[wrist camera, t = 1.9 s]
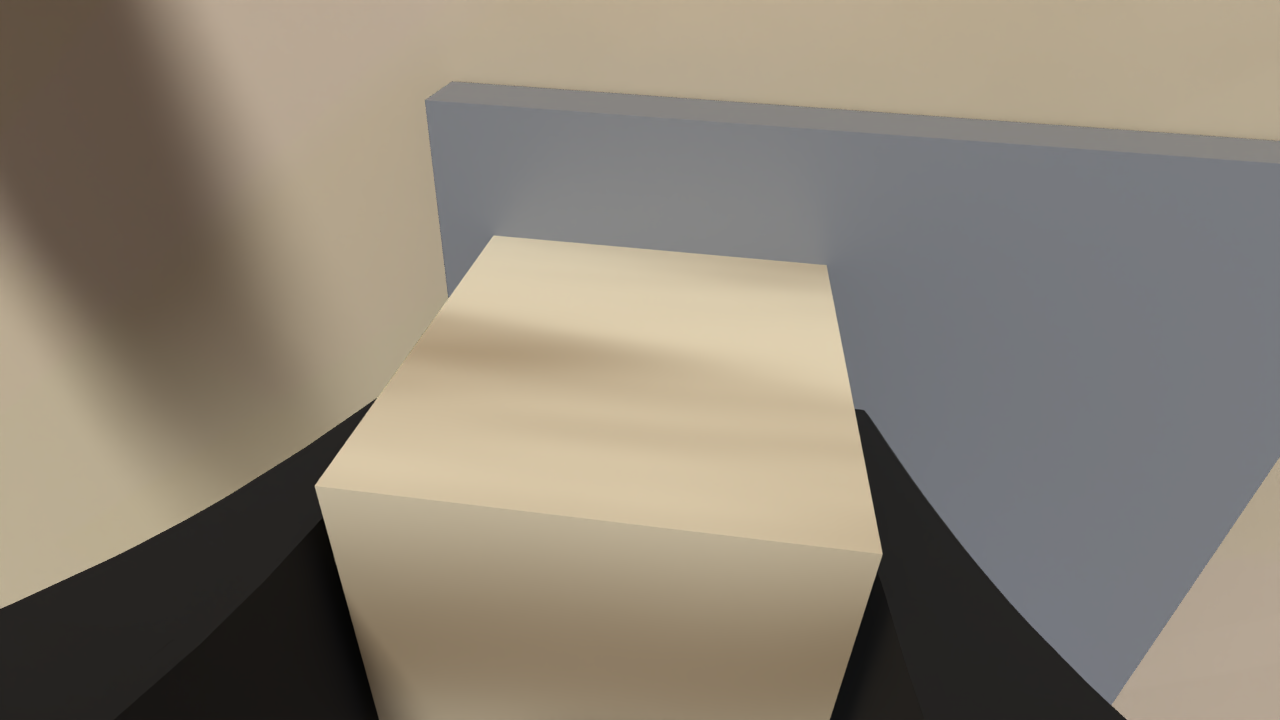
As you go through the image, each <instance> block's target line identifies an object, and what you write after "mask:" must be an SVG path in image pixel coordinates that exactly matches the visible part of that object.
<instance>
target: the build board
mask: <svg viewBox="0 0 1280 720" xmlns="http://www.w3.org/2000/svg"><path fill="white" fill-rule="evenodd" d="M425 105H426V114H427V122H428V130H429V139H430V147H431V156H432V164H433V173H434V181H435V190H436V198H437V206H438V215H439V223H440V232H441V240H442V249H443V257H444V265H445V274H446V282H447V291H448V298H449V297H450V296H451V294H452V293H453V291H454V290H455V289H456V287H457V286H458V284H459V283H460V282H461V280H462V279H463V277H464V276H465V275H466V273H467V272H468V270H469V269H470V268H471V266H472V265H473V263H474V262H475V261H476V259H477V258H478V256H479V255H480V254H481V252H482V251H483V249H484V248H485V247H486V245H487V244H488V242H489V241H490V240H491V238H492V237H493V235H494V236H505V237H516V238H528V239H539V240H550V241H561V242H572V243H584V244H595V245H606V246H617V247H628V248H640V249H651V250H662V251H673V252H685V253H696V254H707V255H718V256H729V257H741V258H752V259H763V260H774V261H786V262H797V263H808V264H819V265H827V270H828V275H829V281H830V286H831V291H832V296H833V301H834V306H835V311H836V317H837V322H838V327H839V332H840V337H841V342H842V348H843V353H844V358H845V363H846V368H847V373H848V378H849V384H850V389H851V394H852V399H853V404H854V409H860V410H865V412H866V413H867V414H868V415H869V417H870V418H871V419H872V421H873V422H874V424H875V425H876V427H877V428H878V430H879V431H880V433H881V434H882V436H883V437H884V439H885V440H886V442H887V443H888V445H889V446H890V447H891V449H892V450H893V452H894V453H895V455H896V456H897V458H898V459H899V461H900V462H901V464H902V465H903V466H904V468H905V469H906V471H907V472H908V474H909V475H910V476H911V478H912V479H913V481H914V482H915V484H916V485H917V486H918V488H919V489H920V490H921V492H922V493H923V495H924V496H925V497H926V499H927V500H928V501H929V503H930V504H931V505H932V507H933V508H934V509H935V511H936V512H937V513H938V515H939V516H940V517H941V518H942V520H943V521H944V522H945V524H946V525H947V526H948V528H949V529H950V530H951V532H952V533H953V534H954V536H955V537H956V538H957V539H958V541H959V542H960V543H961V545H962V546H963V547H964V548H965V550H966V551H967V552H968V553H969V554H970V556H971V557H972V558H973V559H974V561H975V562H976V563H977V564H978V566H979V567H980V568H981V569H982V570H983V572H984V573H985V574H986V575H987V576H988V577H989V579H990V580H991V581H992V582H993V583H994V584H995V586H996V587H997V588H998V589H999V590H1000V591H1001V593H1002V594H1003V595H1004V596H1005V597H1006V599H1007V600H1008V601H1009V602H1010V603H1011V604H1012V605H1013V606H1014V608H1015V609H1016V610H1017V611H1018V612H1019V613H1020V614H1021V615H1022V616H1023V617H1024V618H1025V619H1026V621H1027V622H1028V623H1029V624H1030V625H1031V626H1032V627H1033V628H1034V629H1035V630H1036V631H1037V632H1038V633H1039V634H1040V635H1041V636H1042V637H1043V638H1044V639H1045V640H1046V641H1047V642H1048V643H1049V644H1050V645H1051V646H1052V647H1053V648H1054V649H1055V650H1056V651H1057V652H1058V654H1059V655H1060V656H1061V657H1062V658H1063V659H1064V660H1065V661H1066V662H1067V663H1068V664H1069V665H1070V666H1071V667H1072V668H1073V669H1074V670H1075V671H1076V672H1077V673H1078V674H1079V675H1080V676H1081V677H1082V678H1083V679H1084V680H1085V681H1086V682H1087V683H1088V684H1089V685H1090V686H1091V687H1092V688H1093V689H1094V690H1096V691H1097V692H1098V693H1099V694H1100V695H1101V696H1102V697H1103V698H1104V699H1105V700H1106V701H1107V702H1108V703H1109V704H1110V705H1112V703H1113V702H1114V700H1115V699H1116V697H1117V696H1118V694H1119V693H1120V691H1121V690H1122V688H1123V687H1124V685H1125V684H1126V682H1127V681H1128V680H1129V678H1130V677H1131V675H1132V674H1133V672H1134V671H1135V669H1136V668H1137V666H1138V665H1139V663H1140V662H1141V660H1142V659H1143V657H1144V656H1145V654H1146V653H1147V652H1148V650H1149V649H1150V647H1151V646H1152V644H1153V643H1154V641H1155V640H1156V638H1157V637H1158V635H1159V634H1160V632H1161V631H1162V629H1163V628H1164V626H1165V625H1166V624H1167V622H1168V621H1169V619H1170V618H1171V616H1172V615H1173V613H1174V612H1175V610H1176V609H1177V607H1178V606H1179V604H1180V603H1181V601H1182V600H1183V598H1184V597H1185V596H1186V594H1187V593H1188V591H1189V590H1190V588H1191V587H1192V585H1193V584H1194V582H1195V581H1196V579H1197V578H1198V576H1199V575H1200V573H1201V572H1202V570H1203V569H1204V568H1205V566H1206V565H1207V563H1208V562H1209V560H1210V559H1211V557H1212V556H1213V554H1214V553H1215V551H1216V550H1217V548H1218V547H1219V545H1220V544H1221V542H1222V541H1223V540H1224V538H1225V537H1226V535H1227V534H1228V532H1229V531H1230V529H1231V528H1232V526H1233V525H1234V523H1235V522H1236V520H1237V519H1238V517H1239V516H1240V514H1241V513H1242V512H1243V510H1244V509H1245V507H1246V506H1247V504H1248V503H1249V501H1250V500H1251V498H1252V497H1253V495H1254V494H1255V492H1256V491H1257V489H1258V488H1259V486H1260V485H1261V484H1262V482H1263V481H1264V479H1265V478H1266V476H1267V475H1268V473H1269V472H1270V470H1271V469H1272V467H1273V466H1274V464H1275V463H1276V461H1277V460H1278V458H1279V457H1280V141H1271V140H1257V139H1244V138H1230V137H1216V136H1202V135H1188V134H1174V133H1160V132H1146V131H1132V130H1118V129H1104V128H1091V127H1077V126H1063V125H1049V124H1035V123H1021V122H1007V121H993V120H979V119H965V118H951V117H938V116H924V115H910V114H896V113H882V112H868V111H854V110H840V109H826V108H812V107H799V106H785V105H771V104H757V103H743V102H729V101H715V100H701V99H687V98H673V97H659V96H646V95H632V94H618V93H604V92H590V91H576V90H562V89H548V88H534V87H520V86H506V85H493V84H479V83H465V82H450V83H449V84H448V85H446V86H445V87H443V88H442V89H440V90H439V91H437V92H436V93H435V94H433V95H432V96H430V97H429V98H427V99H426V100H425Z"/></svg>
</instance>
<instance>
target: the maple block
mask: <svg viewBox="0 0 1280 720" xmlns="http://www.w3.org/2000/svg"><path fill="white" fill-rule="evenodd" d="M315 489H316V493H317V497H318V500H319V504H320V507H321V511H322V515H323V518H324V522H325V525H326V529H327V533H328V536H329V540H330V544H331V547H332V551H333V554H334V558H335V562H336V565H337V569H338V573H339V576H340V580H341V583H342V587H343V591H344V594H345V598H346V602H347V605H348V609H349V612H350V616H351V620H352V623H353V627H354V631H355V634H356V638H357V641H358V645H359V649H360V652H361V656H362V659H363V663H364V667H365V670H366V674H367V678H368V681H369V685H370V688H371V692H372V696H373V699H374V703H375V707H376V710H377V714H378V717H379V720H830V717H831V714H832V711H833V708H834V705H835V702H836V699H837V695H838V692H839V689H840V686H841V683H842V680H843V677H844V674H845V670H846V667H847V664H848V661H849V658H850V655H851V652H852V649H853V645H854V642H855V639H856V636H857V633H858V630H859V627H860V624H861V620H862V617H863V614H864V611H865V608H866V605H867V602H868V599H869V595H870V592H871V589H872V586H873V583H874V580H875V577H876V573H877V570H878V567H879V564H880V561H881V558H882V555H883V553H882V548H881V543H880V538H879V533H878V528H877V523H876V517H875V512H874V507H873V502H872V497H871V492H870V487H869V481H868V476H867V471H866V466H865V461H864V456H863V451H862V445H861V440H860V435H859V430H858V425H857V420H856V414H855V409H854V404H853V399H852V394H851V389H850V384H849V378H848V373H847V368H846V363H845V358H844V353H843V348H842V342H841V337H840V332H839V327H838V322H837V317H836V311H835V306H834V301H833V296H832V291H831V286H830V281H829V275H828V270H827V265H819V264H808V263H797V262H786V261H774V260H763V259H752V258H741V257H729V256H718V255H707V254H696V253H685V252H673V251H662V250H651V249H640V248H628V247H617V246H606V245H595V244H584V243H572V242H561V241H550V240H539V239H528V238H516V237H505V236H494V235H493V237H492V238H491V240H490V241H489V242H488V244H487V245H486V247H485V248H484V249H483V251H482V252H481V254H480V255H479V256H478V258H477V259H476V261H475V262H474V263H473V265H472V266H471V268H470V269H469V270H468V272H467V273H466V275H465V276H464V277H463V279H462V280H461V282H460V283H459V284H458V286H457V287H456V289H455V290H454V291H453V293H452V294H451V296H450V297H449V298H448V300H447V301H446V303H445V304H444V305H443V307H442V308H441V310H440V311H439V312H438V314H437V315H436V317H435V318H434V319H433V321H432V322H431V324H430V325H429V326H428V328H427V329H426V331H425V332H424V333H423V335H422V336H421V338H420V339H419V340H418V342H417V343H416V345H415V346H414V347H413V349H412V350H411V352H410V353H409V354H408V356H407V357H406V359H405V360H404V361H403V363H402V364H401V366H400V367H399V368H398V370H397V371H396V373H395V374H394V375H393V377H392V378H391V380H390V381H389V382H388V384H387V385H386V387H385V388H384V389H383V391H382V392H381V394H380V395H379V396H378V398H377V399H376V401H375V402H374V403H373V405H372V406H371V408H370V409H369V410H368V412H367V413H366V415H365V416H364V417H363V419H362V420H361V422H360V423H359V424H358V426H357V427H356V429H355V430H354V431H353V433H352V434H351V436H350V437H349V438H348V440H347V441H346V443H345V444H344V445H343V447H342V448H341V450H340V451H339V452H338V454H337V455H336V457H335V458H334V459H333V461H332V462H331V464H330V465H329V466H328V468H327V469H326V471H325V472H324V473H323V475H322V476H321V478H320V479H319V480H318V482H317V483H316V485H315Z"/></svg>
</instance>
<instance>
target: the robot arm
mask: <svg viewBox="0 0 1280 720" xmlns="http://www.w3.org/2000/svg"><path fill="white" fill-rule="evenodd" d="M376 399H377V398H376ZM376 399H375V400H373V401H372V402H371V403H369V404H368V405H366V406H365V407H363V408H362V409H361V410H359V411H358V412H356V413H355V414H353V415H352V416H351V417H349V418H348V419H346V420H345V421H343V422H342V423H340V424H339V425H337V426H336V427H335V428H333V429H332V430H330V431H329V432H327V433H326V434H324V435H323V436H321V437H320V438H318V439H317V440H316V441H314V442H313V443H311V444H310V445H308V446H307V447H305V448H304V449H302V450H301V451H299V452H298V453H296V454H294V455H293V456H291V457H290V458H288V459H286V460H285V461H283V462H282V463H280V464H278V465H277V466H275V467H274V468H272V469H270V470H269V471H267V472H266V473H264V474H262V475H261V476H259V477H258V478H256V479H254V480H253V481H251V482H250V483H248V484H246V485H245V486H243V487H242V488H240V489H238V490H237V491H235V492H234V493H232V494H230V495H229V496H227V497H225V498H224V499H222V500H220V501H218V502H217V503H215V504H213V505H212V506H210V507H208V508H206V509H205V510H203V511H201V512H199V513H197V514H196V515H194V516H192V517H190V518H188V519H187V520H185V521H183V522H181V523H179V524H177V525H175V526H173V527H172V528H170V529H168V530H166V531H164V532H162V533H160V534H158V535H156V536H154V537H153V538H151V539H149V540H147V541H145V542H143V543H141V544H139V545H137V546H135V547H133V548H131V549H129V550H127V551H125V552H123V553H121V554H119V555H117V556H115V557H113V558H111V559H109V560H107V561H105V562H102V563H100V564H98V565H96V566H94V567H92V568H89V569H87V570H85V571H83V572H81V573H78V574H76V575H74V576H72V577H70V578H68V579H65V580H63V581H61V582H59V583H57V584H54V585H52V586H50V587H48V588H46V589H44V590H41V591H39V592H37V593H35V594H33V595H30V596H28V597H26V598H24V599H22V600H20V601H17V602H15V603H13V604H11V605H8V606H6V607H4V608H1V609H0V720H379V717H378V714H377V710H376V707H375V703H374V699H373V696H372V692H371V688H370V685H369V681H368V678H367V674H366V670H365V667H364V663H363V659H362V656H361V652H360V649H359V645H358V641H357V638H356V634H355V631H354V627H353V623H352V620H351V616H350V612H349V609H348V605H347V602H346V598H345V594H344V591H343V587H342V583H341V580H340V576H339V573H338V569H337V565H336V562H335V558H334V554H333V551H332V547H331V544H330V540H329V536H328V533H327V529H326V525H325V522H324V518H323V515H322V511H321V507H320V504H319V500H318V497H317V493H316V489H315V485H316V483H317V482H318V480H319V479H320V478H321V476H322V475H323V473H324V472H325V471H326V469H327V468H328V466H329V465H330V464H331V462H332V461H333V459H334V458H335V457H336V455H337V454H338V452H339V451H340V450H341V448H342V447H343V445H344V444H345V443H346V441H347V440H348V438H349V437H350V436H351V434H352V433H353V431H354V430H355V429H356V427H357V426H358V424H359V423H360V422H361V420H362V419H363V417H364V416H365V415H366V413H367V412H368V410H369V409H370V408H371V406H372V405H373V403H374V402H375V401H376ZM855 414H856V420H857V425H858V430H859V435H860V440H861V445H862V451H863V456H864V461H865V466H866V471H867V476H868V481H869V487H870V492H871V497H872V502H873V507H874V512H875V517H876V523H877V528H878V533H879V538H880V543H881V548H882V553H883V555H882V558H881V561H880V564H879V567H878V570H877V573H876V577H875V580H874V583H873V586H872V589H871V592H870V595H869V599H868V602H867V605H866V608H865V611H864V614H863V617H862V620H861V624H860V627H859V630H858V633H857V636H856V639H855V642H854V645H853V649H852V652H851V655H850V658H849V661H848V664H847V667H846V670H845V674H844V677H843V680H842V683H841V686H840V689H839V692H838V695H837V699H836V702H835V705H834V708H833V711H832V714H831V717H830V720H1126V719H1125V718H1124V717H1123V716H1122V715H1121V714H1120V713H1119V712H1118V711H1117V710H1116V709H1115V708H1113V707H1112V706H1111V705H1110V704H1109V703H1108V702H1107V701H1106V700H1105V699H1104V698H1103V697H1102V696H1101V695H1100V694H1099V693H1098V692H1097V691H1096V690H1094V689H1093V688H1092V687H1091V686H1090V685H1089V684H1088V683H1087V682H1086V681H1085V680H1084V679H1083V678H1082V677H1081V676H1080V675H1079V674H1078V673H1077V672H1076V671H1075V670H1074V669H1073V668H1072V667H1071V666H1070V665H1069V664H1068V663H1067V662H1066V661H1065V660H1064V659H1063V658H1062V657H1061V656H1060V655H1059V654H1058V652H1057V651H1056V650H1055V649H1054V648H1053V647H1052V646H1051V645H1050V644H1049V643H1048V642H1047V641H1046V640H1045V639H1044V638H1043V637H1042V636H1041V635H1040V634H1039V633H1038V632H1037V631H1036V630H1035V629H1034V628H1033V627H1032V626H1031V625H1030V624H1029V623H1028V622H1027V621H1026V619H1025V618H1024V617H1023V616H1022V615H1021V614H1020V613H1019V612H1018V611H1017V610H1016V609H1015V608H1014V606H1013V605H1012V604H1011V603H1010V602H1009V601H1008V600H1007V599H1006V597H1005V596H1004V595H1003V594H1002V593H1001V591H1000V590H999V589H998V588H997V587H996V586H995V584H994V583H993V582H992V581H991V580H990V579H989V577H988V576H987V575H986V574H985V573H984V572H983V570H982V569H981V568H980V567H979V566H978V564H977V563H976V562H975V561H974V559H973V558H972V557H971V556H970V554H969V553H968V552H967V551H966V550H965V548H964V547H963V546H962V545H961V543H960V542H959V541H958V539H957V538H956V537H955V536H954V534H953V533H952V532H951V530H950V529H949V528H948V526H947V525H946V524H945V522H944V521H943V520H942V518H941V517H940V516H939V515H938V513H937V512H936V511H935V509H934V508H933V507H932V505H931V504H930V503H929V501H928V500H927V499H926V497H925V496H924V495H923V493H922V492H921V490H920V489H919V488H918V486H917V485H916V484H915V482H914V481H913V479H912V478H911V476H910V475H909V474H908V472H907V471H906V469H905V468H904V466H903V465H902V464H901V462H900V461H899V459H898V458H897V456H896V455H895V453H894V452H893V450H892V449H891V447H890V446H889V445H888V443H887V442H886V440H885V439H884V437H883V436H882V434H881V433H880V431H879V430H878V428H877V427H876V425H875V424H874V422H873V421H872V419H871V418H870V417H869V415H868V414H867V413H866V412H865V410H860V409H855Z"/></svg>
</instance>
